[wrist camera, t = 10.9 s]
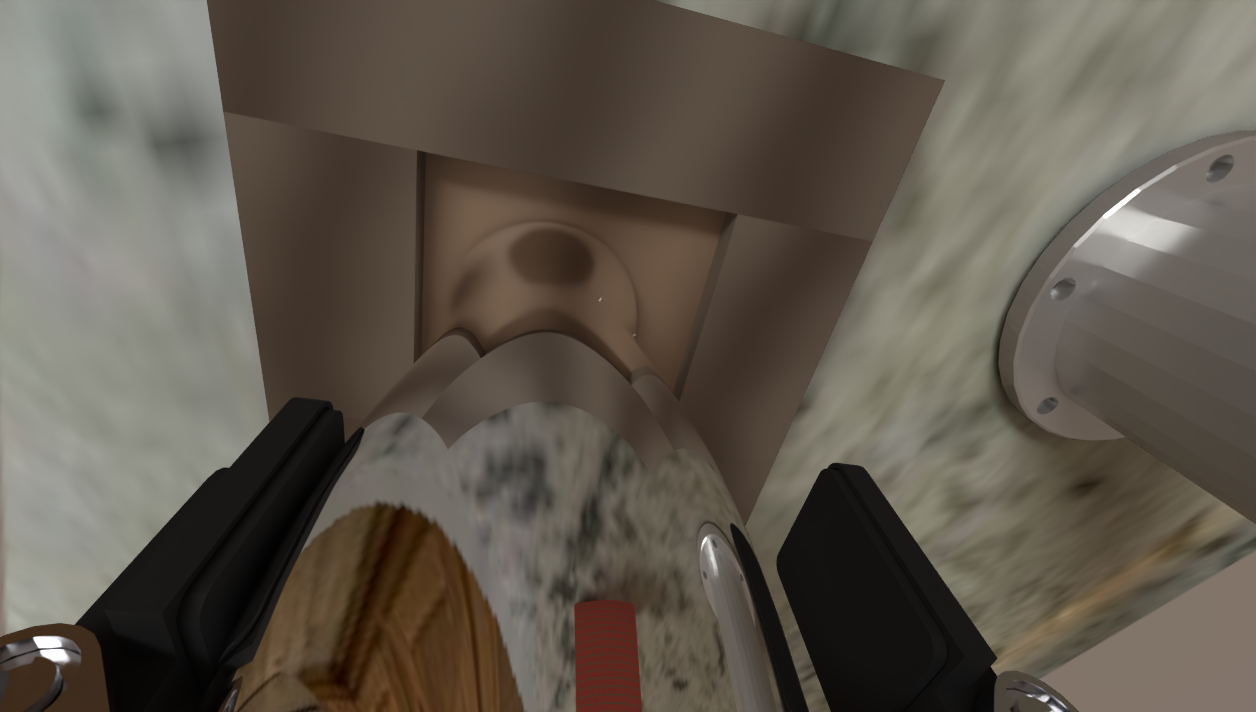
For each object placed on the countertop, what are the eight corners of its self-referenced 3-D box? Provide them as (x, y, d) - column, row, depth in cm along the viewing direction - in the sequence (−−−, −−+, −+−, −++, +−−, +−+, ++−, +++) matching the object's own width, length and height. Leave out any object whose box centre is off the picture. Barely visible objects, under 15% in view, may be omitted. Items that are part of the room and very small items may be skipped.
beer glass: (587, 423, 19) (645, 1136, 7) (404, 351, 17) (-75, 1249, 4) (688, 270, 17) (1116, 953, 4) (487, 159, 14) (-105, 979, 2)
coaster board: (903, 78, 16) (945, 80, 14) (726, 506, 24) (738, 540, 22) (241, -101, 12) (188, -128, 10) (306, 471, 20) (282, 508, 19)
